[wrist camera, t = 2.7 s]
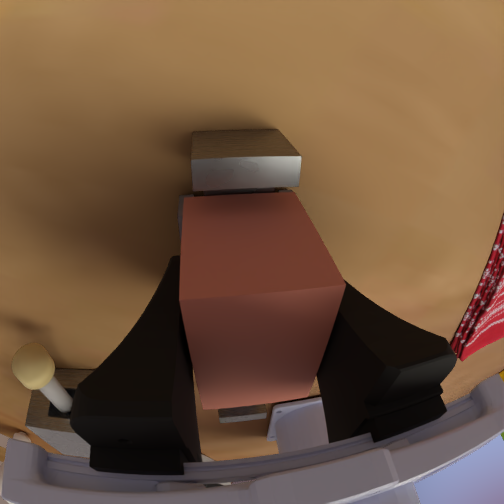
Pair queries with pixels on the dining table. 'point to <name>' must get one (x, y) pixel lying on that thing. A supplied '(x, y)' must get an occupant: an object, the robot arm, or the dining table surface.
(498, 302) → the dish towel
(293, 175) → the rail
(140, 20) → the dining table surface
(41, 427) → the grey block with hole
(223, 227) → the block
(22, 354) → the plunger
